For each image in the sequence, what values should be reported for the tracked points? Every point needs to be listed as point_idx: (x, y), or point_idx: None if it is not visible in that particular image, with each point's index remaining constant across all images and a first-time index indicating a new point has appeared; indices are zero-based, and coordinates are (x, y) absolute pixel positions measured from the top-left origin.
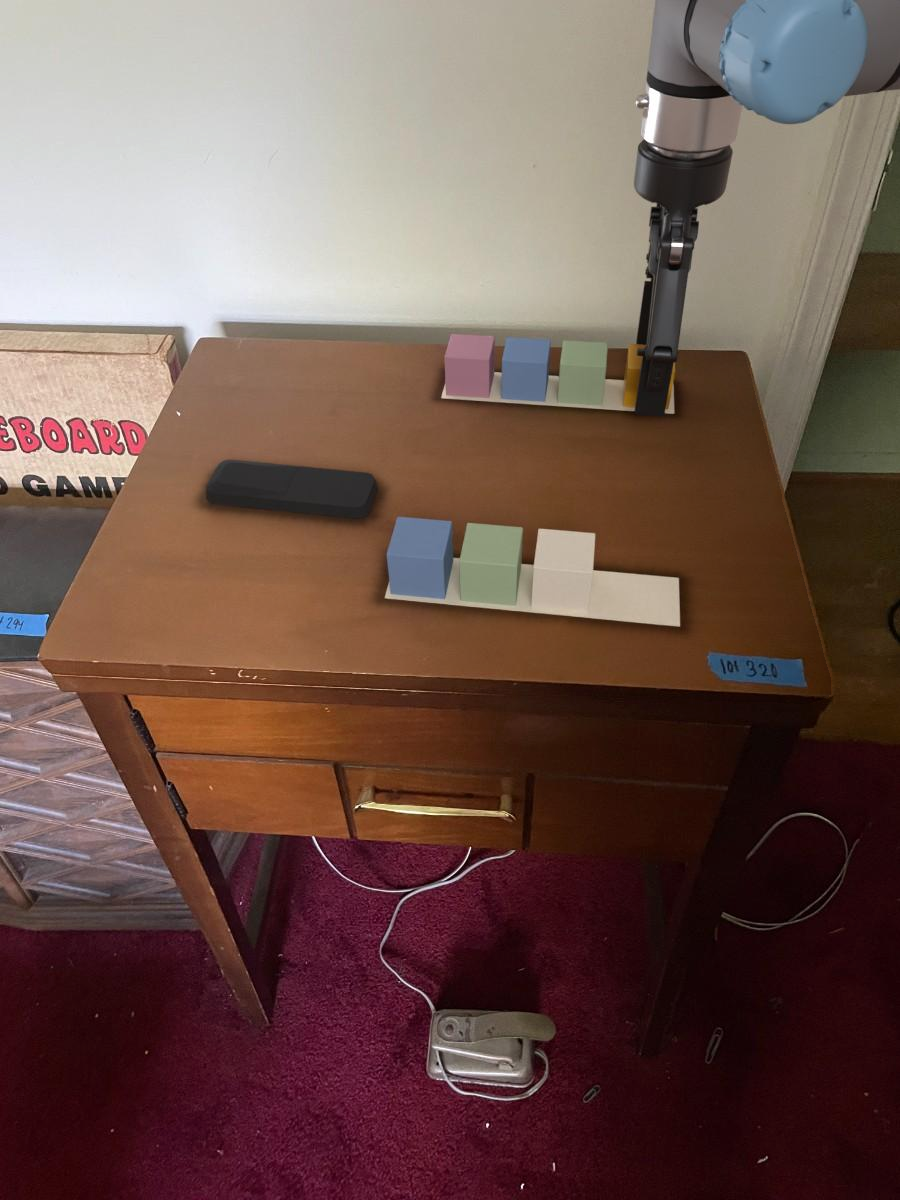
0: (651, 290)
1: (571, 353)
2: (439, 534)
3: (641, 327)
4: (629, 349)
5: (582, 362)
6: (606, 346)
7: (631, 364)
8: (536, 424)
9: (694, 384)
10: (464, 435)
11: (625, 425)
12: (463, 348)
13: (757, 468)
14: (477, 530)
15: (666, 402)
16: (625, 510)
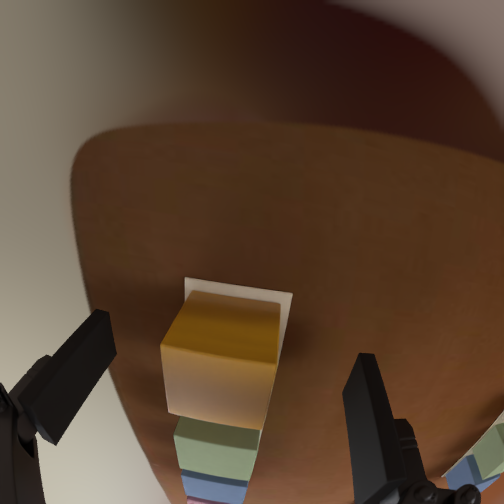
0: (55, 426)
1: (217, 470)
2: (481, 485)
3: (99, 374)
4: (190, 417)
5: (243, 467)
6: (187, 439)
7: (249, 425)
8: (302, 444)
9: (181, 234)
10: (312, 478)
11: (319, 367)
12: None
13: (468, 171)
14: (493, 473)
15: (381, 377)
16: (483, 366)
